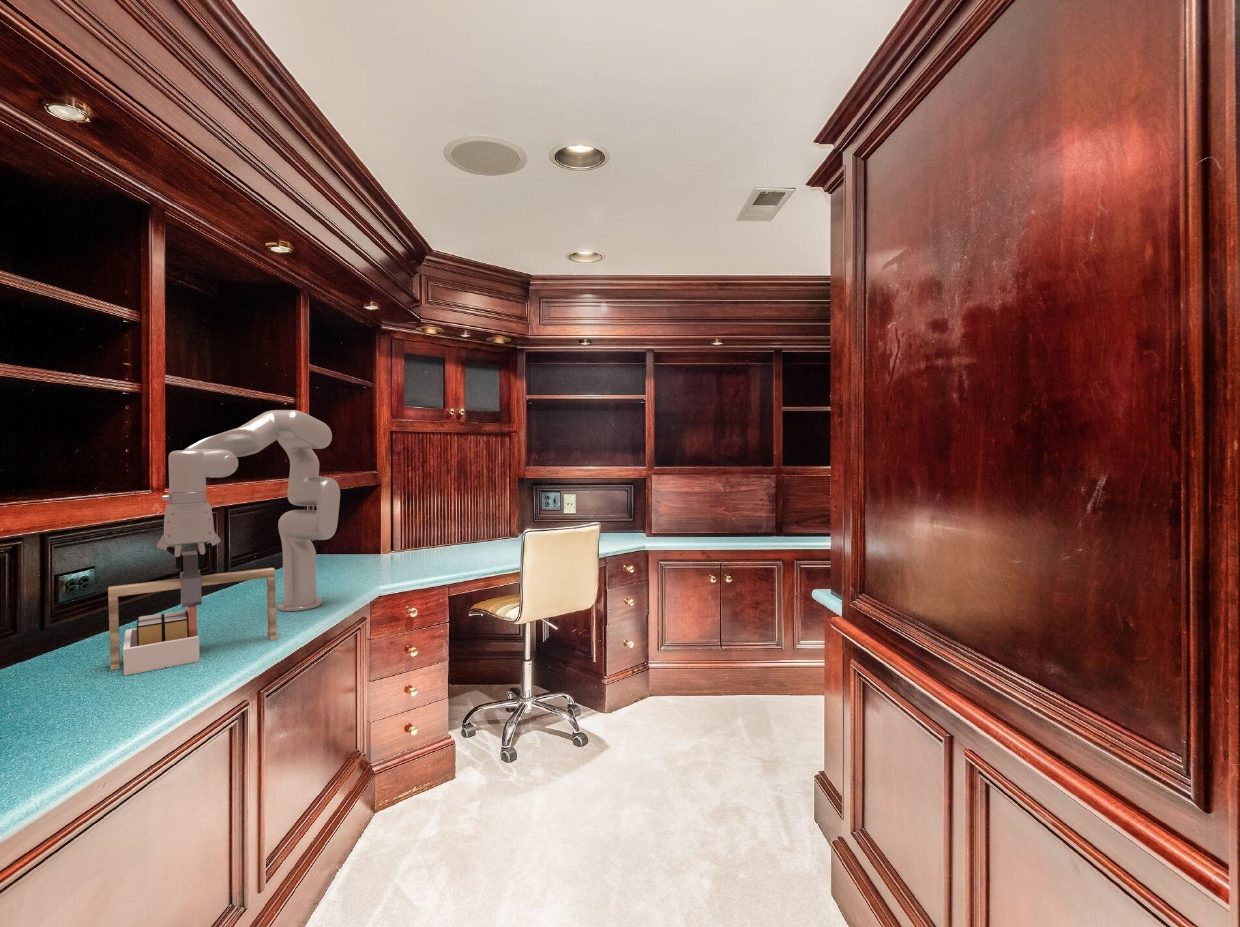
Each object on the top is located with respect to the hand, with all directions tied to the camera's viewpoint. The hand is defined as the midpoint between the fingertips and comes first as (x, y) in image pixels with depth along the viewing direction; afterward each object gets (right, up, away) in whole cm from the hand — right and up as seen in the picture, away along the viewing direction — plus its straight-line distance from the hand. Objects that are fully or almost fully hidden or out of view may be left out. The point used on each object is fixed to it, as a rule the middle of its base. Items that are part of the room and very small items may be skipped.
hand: (190, 569), depth 149 cm
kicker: (0, -20, +1) cm, 20 cm away
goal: (-5, -21, -3) cm, 22 cm away
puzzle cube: (-5, -22, -3) cm, 22 cm away
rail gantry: (+1, -21, +2) cm, 21 cm away
